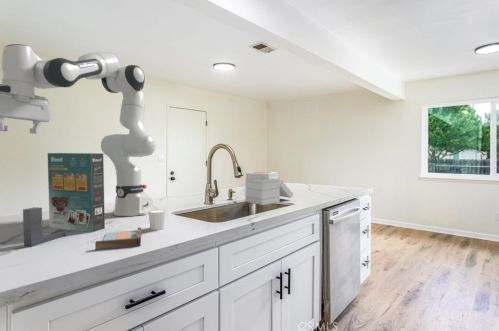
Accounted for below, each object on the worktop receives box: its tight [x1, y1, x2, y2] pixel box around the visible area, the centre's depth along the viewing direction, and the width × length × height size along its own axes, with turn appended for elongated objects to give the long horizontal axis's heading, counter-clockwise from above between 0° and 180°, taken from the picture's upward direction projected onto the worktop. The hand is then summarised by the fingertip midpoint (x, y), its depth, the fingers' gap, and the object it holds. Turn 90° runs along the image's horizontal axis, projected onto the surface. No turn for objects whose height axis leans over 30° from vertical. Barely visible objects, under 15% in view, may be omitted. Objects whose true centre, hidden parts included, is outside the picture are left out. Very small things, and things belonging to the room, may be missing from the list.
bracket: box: [22, 206, 66, 248], centre depth 102 cm, size 13×3×12 cm, turn 166°
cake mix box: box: [47, 152, 106, 233], centre depth 119 cm, size 22×6×30 cm, turn 72°
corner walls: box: [94, 227, 142, 251], centre depth 102 cm, size 15×13×2 cm
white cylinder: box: [148, 209, 167, 231], centre depth 119 cm, size 7×7×7 cm
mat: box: [98, 229, 143, 251], centre depth 104 cm, size 19×12×1 cm, turn 19°
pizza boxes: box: [244, 171, 294, 206], centre depth 186 cm, size 19×30×18 cm, turn 132°
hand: (19, 132), depth 102 cm, fingers open, 8 cm apart
